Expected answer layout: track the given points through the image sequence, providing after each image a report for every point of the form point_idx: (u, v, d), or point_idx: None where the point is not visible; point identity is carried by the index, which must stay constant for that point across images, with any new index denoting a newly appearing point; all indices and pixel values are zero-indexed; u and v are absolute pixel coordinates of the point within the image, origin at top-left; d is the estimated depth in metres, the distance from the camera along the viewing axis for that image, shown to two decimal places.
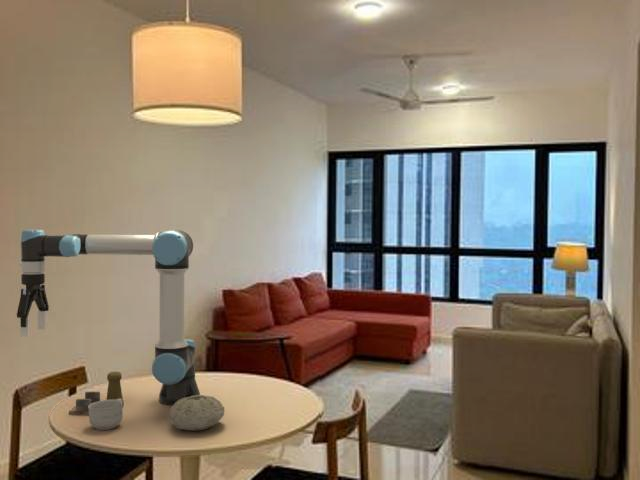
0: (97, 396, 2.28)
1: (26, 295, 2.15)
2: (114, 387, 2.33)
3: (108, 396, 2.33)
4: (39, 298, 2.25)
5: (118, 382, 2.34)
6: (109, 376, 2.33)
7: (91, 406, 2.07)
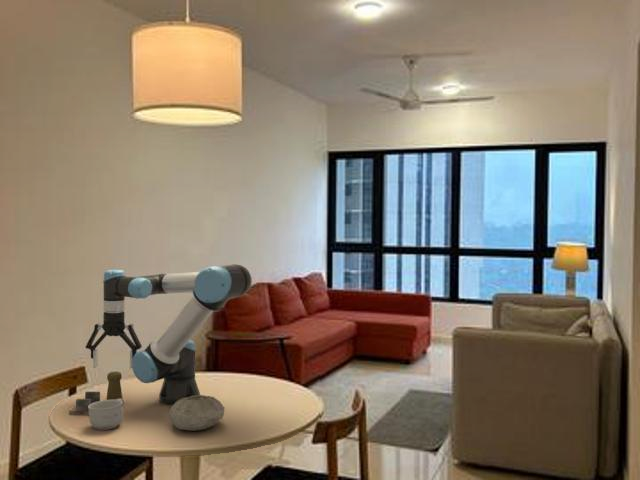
0: (97, 396, 2.28)
1: None
2: (114, 387, 2.33)
3: (108, 396, 2.33)
4: None
5: (118, 382, 2.34)
6: (109, 376, 2.33)
7: (91, 406, 2.07)
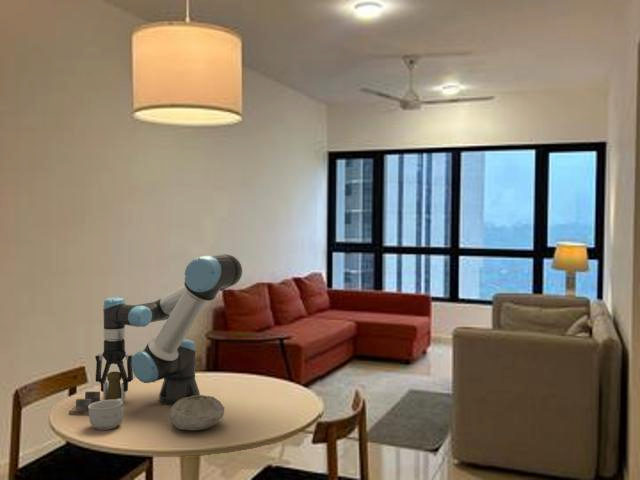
0: (97, 396, 2.28)
1: None
2: (114, 386, 2.33)
3: (108, 396, 2.33)
4: None
5: (118, 382, 2.34)
6: (109, 376, 2.33)
7: (91, 406, 2.07)
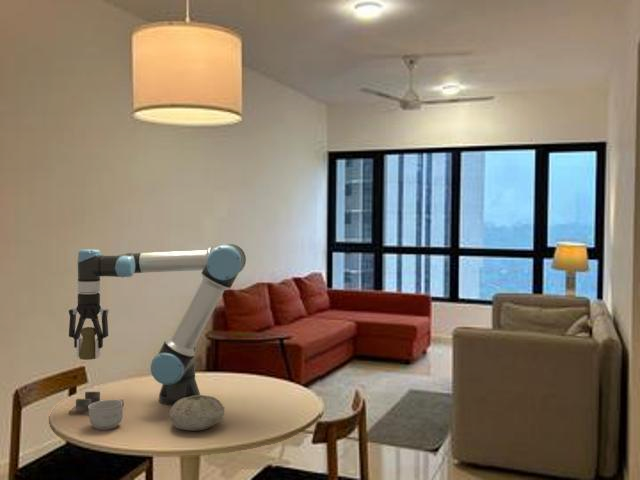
0: (97, 396, 2.28)
1: None
2: (88, 342, 2.22)
3: (81, 352, 2.22)
4: None
5: (92, 338, 2.23)
6: (83, 331, 2.21)
7: (91, 406, 2.07)
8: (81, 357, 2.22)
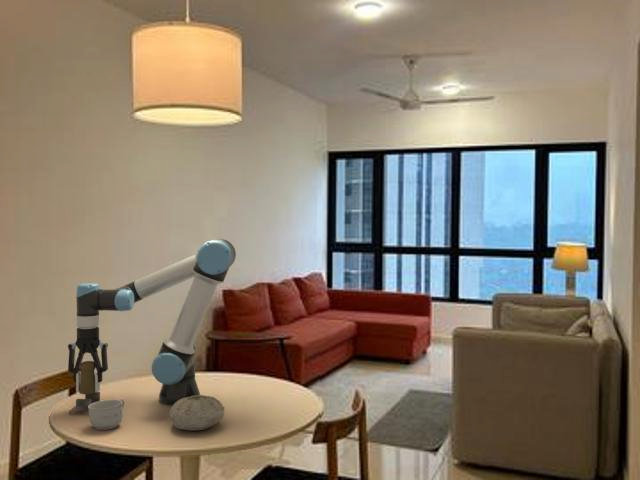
0: (97, 396, 2.28)
1: None
2: (88, 377, 2.21)
3: (81, 387, 2.22)
4: None
5: (92, 372, 2.23)
6: (82, 366, 2.21)
7: (91, 406, 2.07)
8: (81, 392, 2.21)
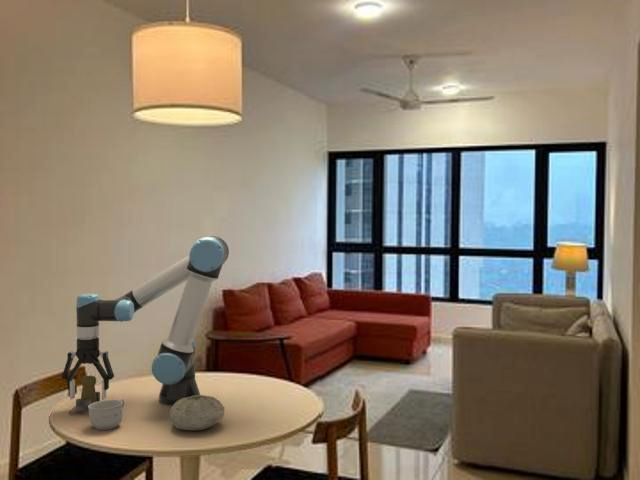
0: (97, 396, 2.28)
1: None
2: (88, 391, 2.22)
3: None
4: None
5: (92, 387, 2.23)
6: (83, 380, 2.22)
7: (91, 406, 2.07)
8: None
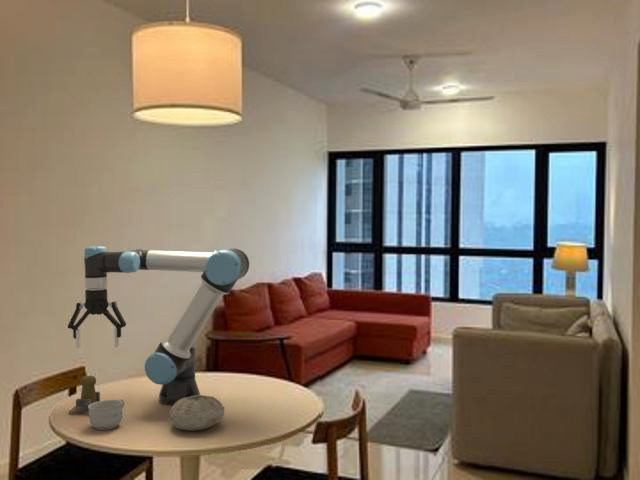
0: (97, 396, 2.28)
1: None
2: (88, 392, 2.22)
3: None
4: None
5: (92, 387, 2.23)
6: (82, 380, 2.21)
7: (91, 406, 2.07)
8: None
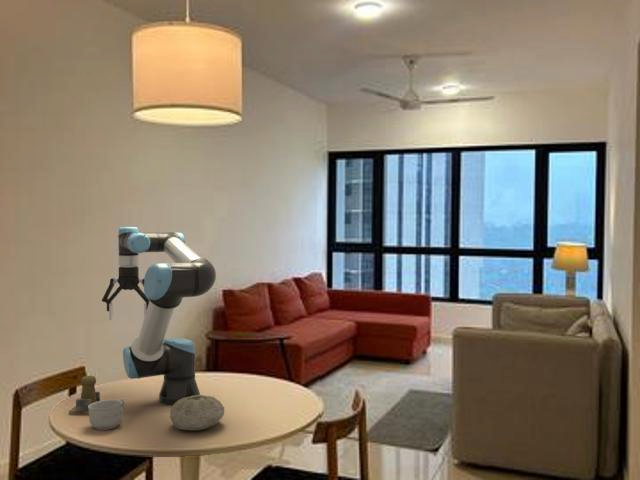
0: (97, 396, 2.28)
1: None
2: (88, 392, 2.22)
3: None
4: None
5: (92, 387, 2.23)
6: (82, 380, 2.21)
7: (91, 406, 2.07)
8: None
